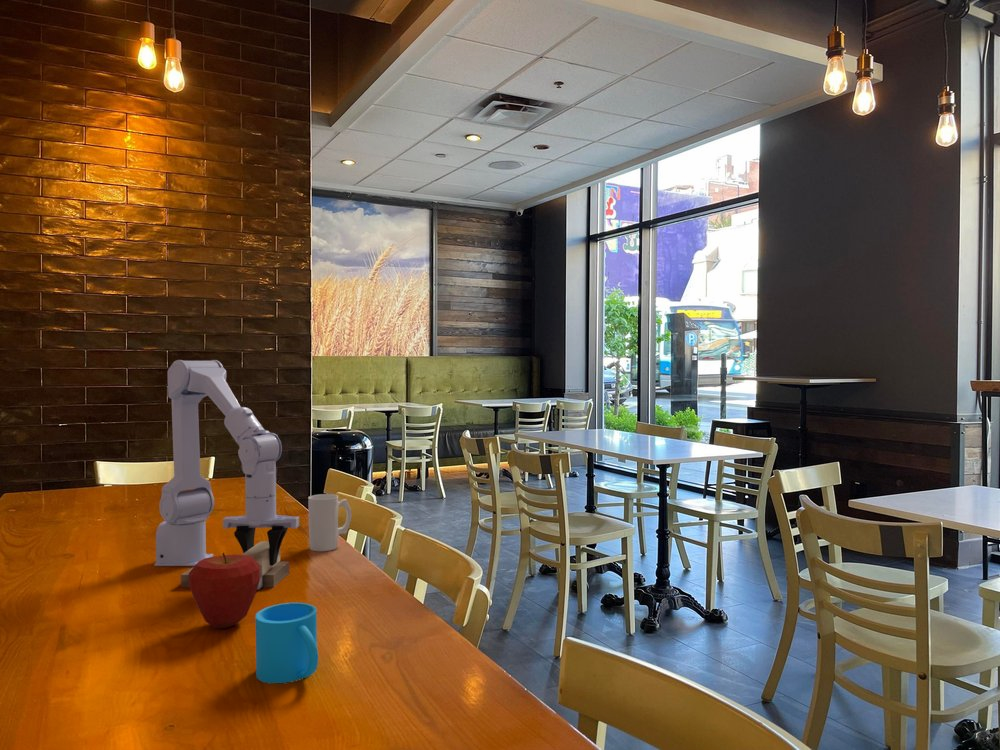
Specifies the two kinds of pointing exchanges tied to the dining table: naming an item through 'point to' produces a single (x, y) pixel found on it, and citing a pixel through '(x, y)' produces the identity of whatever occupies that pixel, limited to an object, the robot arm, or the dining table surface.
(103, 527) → the dining table surface
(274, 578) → the plank
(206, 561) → the apple
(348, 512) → the mug
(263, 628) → the mug
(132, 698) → the dining table surface
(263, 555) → the stepped beige block
